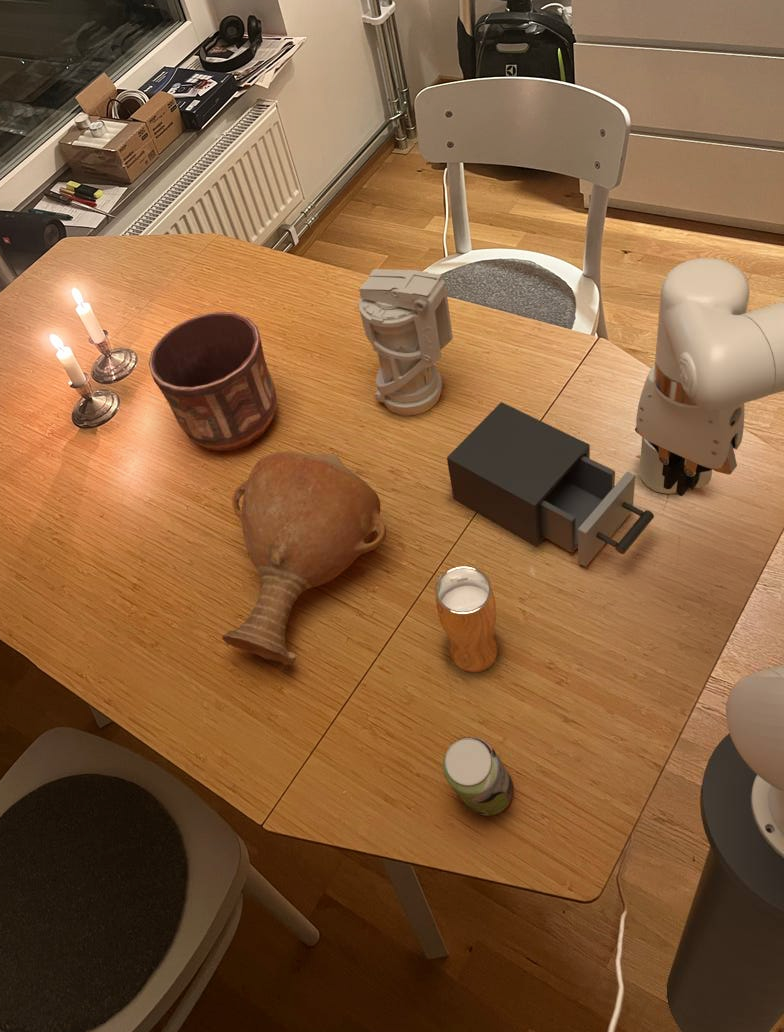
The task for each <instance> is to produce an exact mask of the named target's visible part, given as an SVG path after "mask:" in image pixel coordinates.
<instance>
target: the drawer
mask: <svg viewBox="0 0 784 1032" xmlns="http://www.w3.org/2000/svg"><path fill="white" fill-rule="evenodd" d="M635 486H636V474H634V473H632V472H630V471H626V472H625V473H624V474H623V476H622V477H621V478H620V479H619V480H618V481H617V482H616V471H615V470H614V469H612V468H611V467H608V466H606V465H603V464H602V463H599V462H597V461H596V460H593V459H591V458H590V459H589V458H587V457H585V456H582V457H581V458H580V459H579V461H578V462H577V463H576V464H575V465H574V466H573V467H572V468H571V470H570V471H569V472H568V473H567V474H566V475H565V476H564V477H563V479H562V480H561V481H560V482H559V483H558V484H557V485H556V486H555V487H554V489H553V490H552V491H551V492H550V493H549V494H548V495H547V496H546V498H545V499H544V500H543V501H542V502H541V503H540V504H539V505H538V508H539V526H540V535H542V536H543V537H545V539H547V540H549V541H551V542H552V543H554V544H556V545H557V546H559V547H561V548H563V549H564V550H566V551H568V552H570V553H571V554H573V553H574V552H575V550H576V549H577V563H578V564H580V565H582V566H583V567H585V568H586V567H587V566H588V565H589V563H590V562H591V561H592V560H593V559H594V558H595V556H596V555H597V554H598V552H599V551H600V550H601V549H602V548H603V547H604V546H605V545H606V544H608V545H609V546H612V547H613V548H614V550H615V551H616V552H617V553H618V554H621V555H625V554H626V553H627V551H628V550H629V549H630V548H631V546H633V544H634V543H635V541H636V540H637V539H638V538H639V537H640V535H641V534H642V533H643V532H644V531H645V530H646V528H647V527H648V526H649V525H650V523H651V522H652V521H653V520H654V519H655V514H654V513H653V512H652V511H650V510H647V509H645V510H644V511H643V509H642V510H641V509H640V508H638V507H637V506H635V505H634V498H635ZM631 513H632V514H635V515H637V516H639V517H638V518H637V520H636V521H635V522H634V523H633V524H632V526H631V527H630V528H629V529H628V530H627V531H626V533H625V534H624V535H623V537H622V538H621V539H620V540H619V541H616V540H615V539H612V536H613V535H614V534H615V532H616V531H617V530H618V529H619V528H620V526H621V525H622V524H623V523H624V521H625V520H626V519H627V518H628V517H629V516H630V515H631Z"/></svg>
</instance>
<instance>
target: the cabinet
mask: <svg viewBox="0 0 784 1032" xmlns="http://www.w3.org/2000/svg"><path fill="white" fill-rule="evenodd" d="M590 445H591V444H589V443H587V442H585V441H584V440H581V439H580V438H577V437H575V436H573V435H570V434H568V433H566V432H564V431H562V430H560V429H558V428H556V427H554V426H552V425H550V424H548V423H546V422H543V421H541V420H540V419H538V418H536V417H533V416H531V415H530V414H527V413H525V412H523V411H521V410H519V409H517V408H514V407H513V406H511V405H508V404H506V403H504V402H502V401H501V402H500V403H499V404H498V405H497V406H495V408H493V410H491V412H490V413H489V414H487V416H486V417H485V418H484V419H483V420H482V421H481V422H480V423H479V424H478V425H477V426H476V427H475V428H474V429H473V430H472V431H471V432H470V433H469V434H468V435H467V436H466V437H465V438H464V439H463V440H462V442H461V443H459V445H457V446H456V447H455V448H454V450H452V452H451V453H450V454H449V455H448V456H446V462H447V468H448V475H449V478H450V479H449V480H450V487H451V492H452V498H453V500H454V501H456V502H458V503H460V504H462V505H463V506H465V507H467V508H468V509H470V510H472V511H473V512H475V513H477V514H479V515H480V516H482V517H484V518H486V519H488V520H490V521H491V522H492V523H495V524H496V525H498V526H500V527H501V528H503V529H505V530H506V531H508V532H510V533H512V534H513V535H515V536H517V537H518V538H520V539H522V540H524V541H526V542H527V543H529V544H531V545H532V546H535V547H536V548H538V547H540V545H541V544H542V542H543V541H544V540H545V539H546V538H545V537H543V536H542V535H540V526H539V508H538V505H539V504H540V503H541V502H542V501H543V500H544V499H545V498H546V496H547V495H548V494H549V493H550V492H551V491H552V490H553V489H554V487H555V486H556V485H557V484H558V483H559V482H560V481H561V480H562V479H563V477H564V476H565V475H566V474H567V473H568V472H569V471H570V470H571V468H572V467H573V466H574V465H575V464H576V463H577V462H578V461H579V459H580V458H581V457H582V456H585V457H587V458H589V459H591V458H590V457H591V455H590V454H591V449H590V448H591V447H590Z"/></svg>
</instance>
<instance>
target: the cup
mask: <svg viewBox="0 0 784 1032" xmlns="http://www.w3.org/2000/svg"><path fill="white" fill-rule="evenodd" d="M686 461H687V459H686V458H685V464H686ZM685 464H684V465H685ZM662 471H663V464H662V463H661V462H660V461H659V453H658V452H657V451H656V449H655V448H654V447H653V446H652V444H651V443H650V442H649V441H647V440H646V439H644V438H643V437H641V446H640V459H639V477H640V478H641V481H642V482H643V483H644V485H645V486H647V487H648V488H649V489H651V490H652V491H655V492H657V493H660V494H668V495H669V494H677V493H676V489H677V482H676V483H675V484H674V486H673V487H672V488H671V489H668V490H667V489H665V488H664V487H663V486H664V477H665V476H662ZM712 476H713V470H712V469H711V471H706V472H701V473H700V476H699V481H698V483H697V485H696V486H695V487H694V488H697V489H698V488H703V487H706V486H708V485H709V484H710V482H711V481H712Z"/></svg>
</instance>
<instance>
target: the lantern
mask: <svg viewBox="0 0 784 1032" xmlns="http://www.w3.org/2000/svg"><path fill="white" fill-rule="evenodd" d="M442 275H443V274H439V273H433V272H428V271H424V270H416V269H413V270H412V269H387V268H385V269H384V268H373V270H372V271H371V272H370V273H369V275H368V278H367V279H366V281H365V282H362V284H361V286H359V288H358V289H359V290H358V291H359V296H360V297H359V300H358V310H359V314H360V318H361V321H362V327H363V331H364V334H365V336H366V339H367V340H368V341H369V343H370V345H372V348H373V351H374V352H376V353H377V357H378V361H379V366H380V368H379V369H378V371H377V374H376V376H375V383H376V387H377V390H376V392H375V394H374V396H373V397H374V400H376V401H378V402H380V403H383V404H384V406H385V407H386V408H387V409H388V410H389V411H390V412H392V413H394V414H396V415H399V416H406V417H408V416H409V417H411V416H418V415H422V414H424V413H425V412H428V411H429V410H431V409H432V408H433V407H434V406H435V405H436V404H437V403H438V402H439V400H440V397H441V393H442V389H443V380H442V379H443V378H442V375H441V373H440V372H439V370H438V369H437V368H436V365H435V364H436V363H437V362H438V361H439V359H441V357H442V351H441V350H443V349H444V348H445V347H446V346H447V345H448V344H450V343H451V342H452V340H453V339H454V335H453V328H452V322H451V321H452V320H451V315H450V308H449V300H448V291H447V285H446V281H445V280H444V279H443V278H442Z"/></svg>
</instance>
